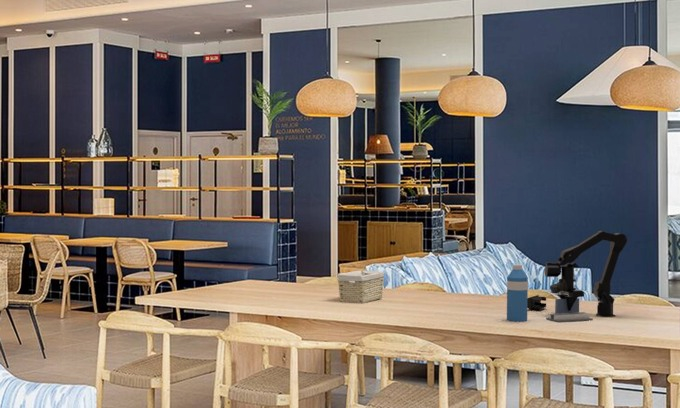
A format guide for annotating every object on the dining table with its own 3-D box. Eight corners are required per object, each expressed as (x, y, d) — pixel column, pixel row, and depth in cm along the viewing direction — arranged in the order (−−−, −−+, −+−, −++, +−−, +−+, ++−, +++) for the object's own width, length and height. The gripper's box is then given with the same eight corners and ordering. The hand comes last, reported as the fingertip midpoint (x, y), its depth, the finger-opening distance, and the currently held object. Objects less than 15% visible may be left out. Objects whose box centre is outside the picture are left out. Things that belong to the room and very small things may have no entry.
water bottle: (524, 318, 429) (525, 264, 428) (529, 321, 420) (530, 265, 419) (504, 318, 429) (505, 264, 428) (508, 321, 419) (509, 265, 419)
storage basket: (363, 304, 478) (363, 275, 478) (335, 301, 487) (335, 273, 486) (385, 299, 499) (385, 271, 498) (358, 297, 507) (358, 269, 507)
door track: (579, 317, 434) (579, 311, 434) (592, 320, 424) (592, 314, 424) (546, 319, 427) (546, 313, 427) (558, 322, 418) (558, 316, 418)
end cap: (532, 308, 465) (532, 294, 465) (546, 309, 461) (546, 295, 461) (525, 310, 457) (525, 296, 457) (539, 311, 453) (539, 297, 453)
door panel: (577, 315, 442) (577, 298, 442) (579, 315, 441) (579, 298, 441) (555, 316, 438) (555, 299, 438) (557, 316, 437) (557, 299, 436)
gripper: (541, 275, 445) (541, 308, 445) (564, 279, 427) (564, 313, 428) (561, 274, 449) (561, 307, 449) (585, 278, 431) (584, 312, 432)
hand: (567, 310), depth 439 cm, fingers open, 3 cm apart
